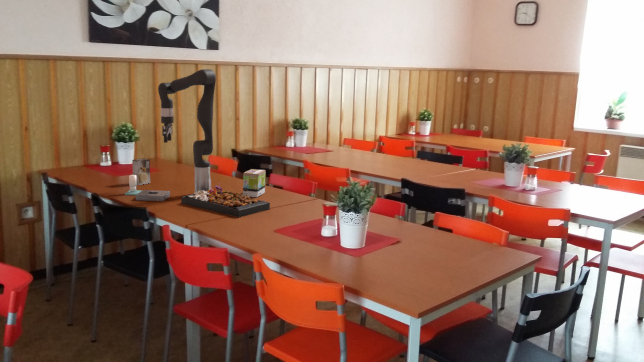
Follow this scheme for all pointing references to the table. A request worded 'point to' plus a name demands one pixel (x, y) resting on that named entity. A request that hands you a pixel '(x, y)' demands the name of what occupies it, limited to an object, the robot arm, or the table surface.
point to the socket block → (152, 195)
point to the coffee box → (141, 170)
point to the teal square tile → (133, 192)
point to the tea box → (254, 182)
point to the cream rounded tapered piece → (132, 183)
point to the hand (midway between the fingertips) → (167, 141)
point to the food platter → (225, 202)
